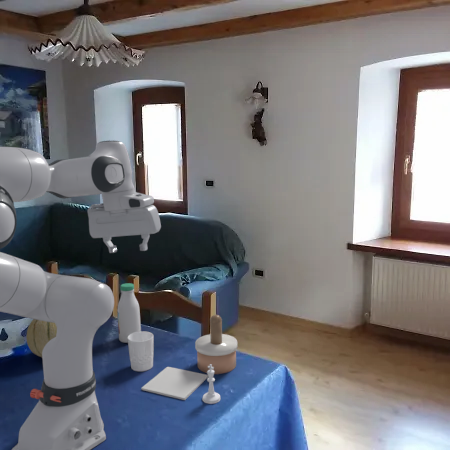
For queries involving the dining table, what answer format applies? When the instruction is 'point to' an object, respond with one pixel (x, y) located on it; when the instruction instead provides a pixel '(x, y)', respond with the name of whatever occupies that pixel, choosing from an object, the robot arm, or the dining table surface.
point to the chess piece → (211, 389)
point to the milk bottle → (128, 313)
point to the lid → (216, 340)
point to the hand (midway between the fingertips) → (128, 251)
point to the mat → (175, 383)
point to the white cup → (141, 350)
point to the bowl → (217, 362)
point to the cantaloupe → (40, 335)
